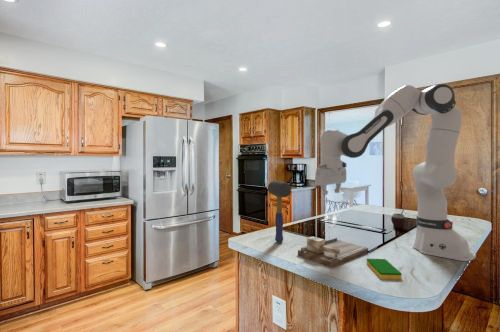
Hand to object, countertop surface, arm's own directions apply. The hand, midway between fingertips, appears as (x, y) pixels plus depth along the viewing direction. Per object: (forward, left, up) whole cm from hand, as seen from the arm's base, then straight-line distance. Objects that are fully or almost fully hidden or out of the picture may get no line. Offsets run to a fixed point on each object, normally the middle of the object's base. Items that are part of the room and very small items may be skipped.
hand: (331, 193), depth 131 cm
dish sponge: (-30, +11, -25) cm, 41 cm away
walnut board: (-8, +10, -24) cm, 27 cm away
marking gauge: (-9, +18, -22) cm, 30 cm away
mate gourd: (-6, -56, -25) cm, 62 cm away
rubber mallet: (+18, +17, -24) cm, 35 cm away
